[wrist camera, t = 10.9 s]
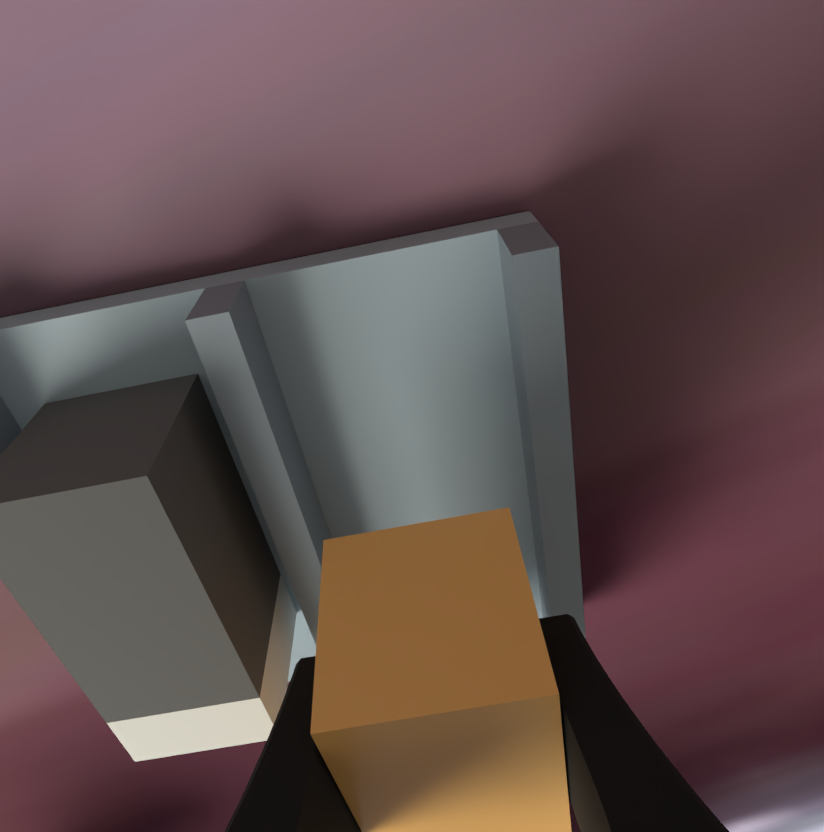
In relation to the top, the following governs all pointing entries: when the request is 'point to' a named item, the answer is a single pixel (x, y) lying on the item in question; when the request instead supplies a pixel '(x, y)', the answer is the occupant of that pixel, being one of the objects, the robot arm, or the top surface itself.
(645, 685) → the top surface
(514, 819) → the tall orange block
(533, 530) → the slot board
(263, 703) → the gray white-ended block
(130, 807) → the top surface
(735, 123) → the top surface
